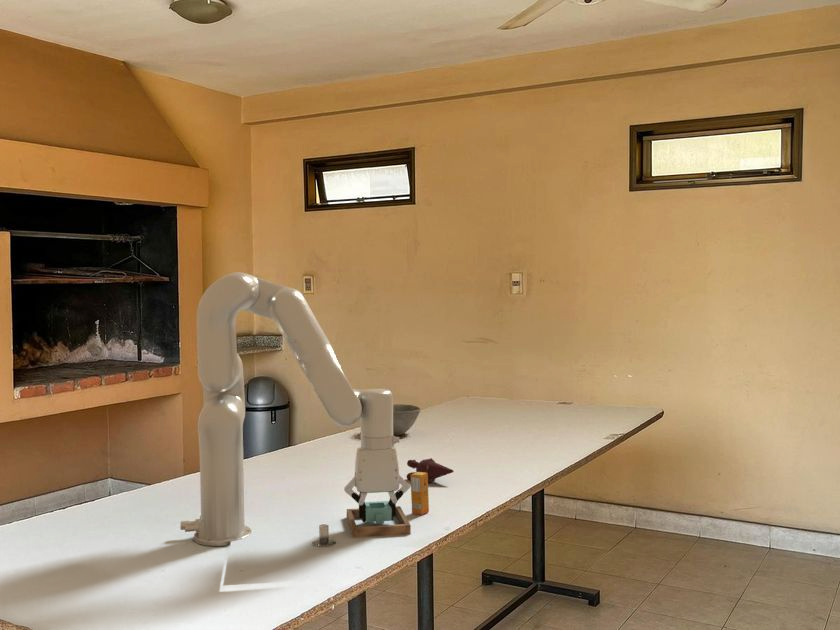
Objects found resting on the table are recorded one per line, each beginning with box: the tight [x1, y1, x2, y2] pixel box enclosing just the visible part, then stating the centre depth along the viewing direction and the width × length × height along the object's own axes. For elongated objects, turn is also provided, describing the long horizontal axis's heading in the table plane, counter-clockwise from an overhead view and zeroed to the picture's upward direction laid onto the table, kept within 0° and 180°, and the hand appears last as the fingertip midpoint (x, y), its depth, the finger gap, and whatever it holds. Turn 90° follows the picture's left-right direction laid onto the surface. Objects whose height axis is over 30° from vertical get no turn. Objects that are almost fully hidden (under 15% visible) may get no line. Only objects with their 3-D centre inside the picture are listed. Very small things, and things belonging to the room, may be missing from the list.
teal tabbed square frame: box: [364, 500, 392, 525], centre depth 185 cm, size 10×6×3 cm, turn 10°
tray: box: [346, 505, 412, 539], centre depth 186 cm, size 13×15×3 cm
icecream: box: [406, 457, 454, 483], centre depth 229 cm, size 7×7×15 cm
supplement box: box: [410, 471, 430, 516], centre depth 198 cm, size 3×3×10 cm
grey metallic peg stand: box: [311, 523, 337, 548], centre depth 173 cm, size 5×5×5 cm
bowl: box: [393, 403, 422, 436], centre depth 297 cm, size 19×19×10 cm
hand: (377, 519), depth 186 cm, fingers closed on teal tabbed square frame, 5 cm apart
